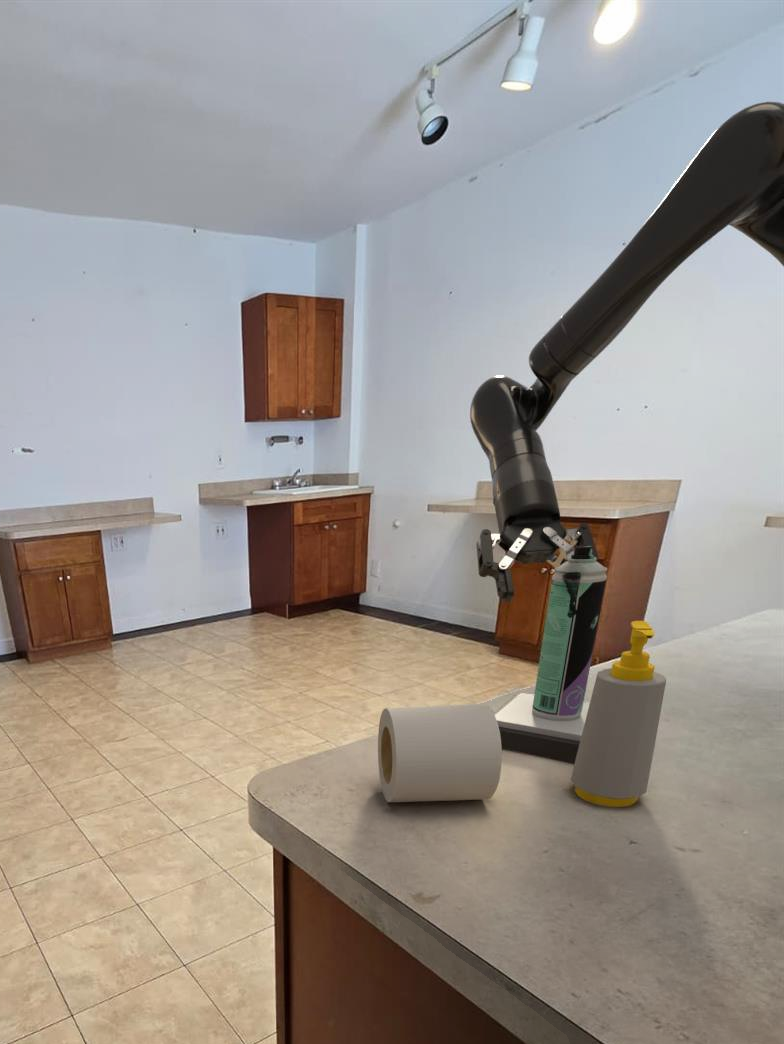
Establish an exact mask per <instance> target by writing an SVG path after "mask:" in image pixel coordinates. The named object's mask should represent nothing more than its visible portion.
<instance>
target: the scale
mask: <svg viewBox="0 0 784 1044" xmlns="http://www.w3.org/2000/svg"><path fill="white" fill-rule="evenodd" d="M533 700H534V694H532V693H526V692H520V693H519V694H518V695H516V694H515V695H514V696H512V697H511V698H510V699H509V700H508V701H507V702H505V703H504V704H503V705H502V706H500V707H499V708H498V709H497V710H495V712H493V713H494V715H495V717H496V720H497V723H498V726H499V731H500V737H501V746H502V750H506V751H507V750H508V751H512V752H517V753H522V754H526V755H530V756H531V755H532V756H537V757H541V758H547V759H552V760H556V761H562V762H567V763H571V764H575V760H576V756H577V752H578V748H579V744H580V740H581V736H582V732H583V728H584V724H585V720H586V716H587V712H588V709H589V705H590V702H587V701H584V702H583V708H582V713H581V716H580V718H578V719H576V720H571V721H553V720H547V719H543V718H540V717H537V716H535V715H534V714H533V713H532V707H533Z"/></svg>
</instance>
